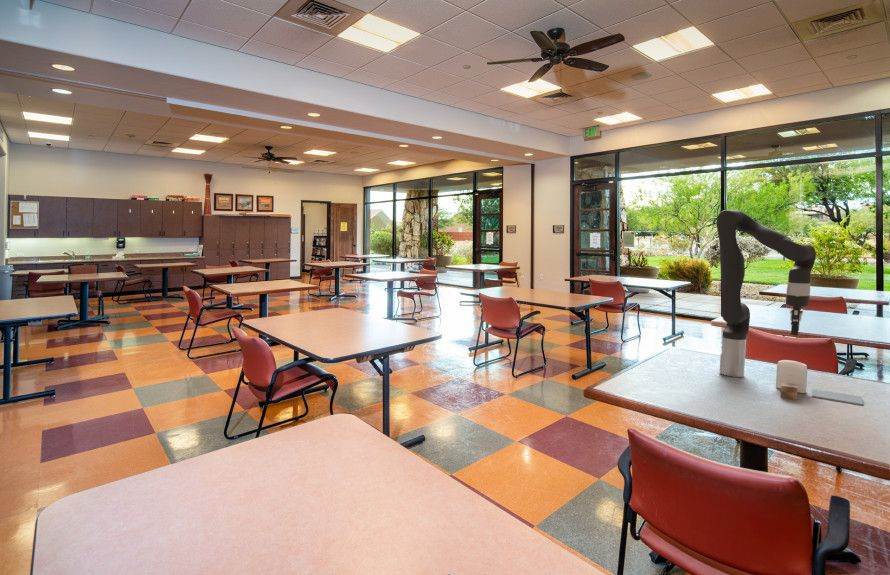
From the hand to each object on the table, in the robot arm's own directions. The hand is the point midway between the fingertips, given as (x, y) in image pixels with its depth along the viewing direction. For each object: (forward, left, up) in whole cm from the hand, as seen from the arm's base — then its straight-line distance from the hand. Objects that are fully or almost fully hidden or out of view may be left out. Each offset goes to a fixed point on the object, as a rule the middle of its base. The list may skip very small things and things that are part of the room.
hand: (794, 333), depth 186 cm
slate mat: (+15, 0, -24) cm, 28 cm away
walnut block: (0, -11, -24) cm, 26 cm away
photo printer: (0, 0, -24) cm, 24 cm away
